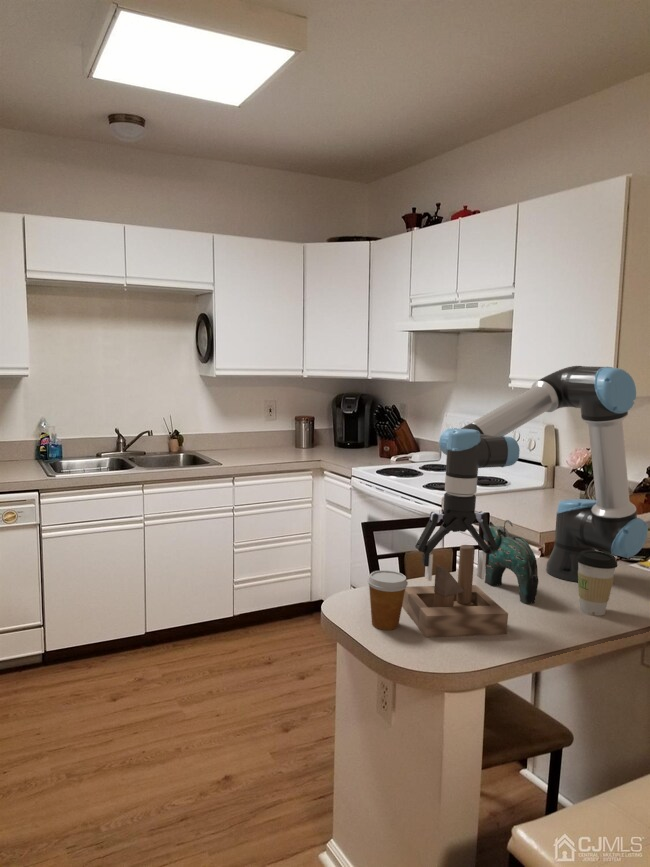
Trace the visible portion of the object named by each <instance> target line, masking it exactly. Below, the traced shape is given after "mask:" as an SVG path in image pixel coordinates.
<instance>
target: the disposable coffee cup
mask: <svg viewBox="0 0 650 867" xmlns="http://www.w3.org/2000/svg"><path fill="white" fill-rule="evenodd" d="M367 584H368V587H369V602H370V613H371V614H370V615H371V625H372V626H373V627H374V628H376V629H379V630H382V631H383V630H384V631H392V630H396V629H398V628H399V623H400V619H401V614H402V608H403V607H402V604H403V599H404V593H405V588H406V587H408V585H409V583H408V580H407V576H406V575H404V574H403V573H401V572H398V571H395V570H385V569H384V570H374V571H372V572H371V573H370V574H369V577H368V578H367Z"/></svg>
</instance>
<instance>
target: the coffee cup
mask: <svg viewBox="0 0 650 867" xmlns="http://www.w3.org/2000/svg"><path fill="white" fill-rule="evenodd" d="M577 561H578V569H579V570H578V585H577V587H578V588H577V589H578V597H579V598H578V601H579V602H578V603H579V604H578V607H579V611H580V612H582V613H583V614H587V615H590V616H594V617H595V616H596V617H599V616H604V615H605V614H606V611H607V606H608V603H609V600H610V595H611V591H612V588H613V584H614V578H615V571H616V568H617V567H618V566H619V565H618V561H617V559H616V556H615V555H613V554H611V553H608V552H606V551H602V550H600V551H599V550H595V551H592V550H586V551H581V552H580V554H579V556H578V557H577Z"/></svg>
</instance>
